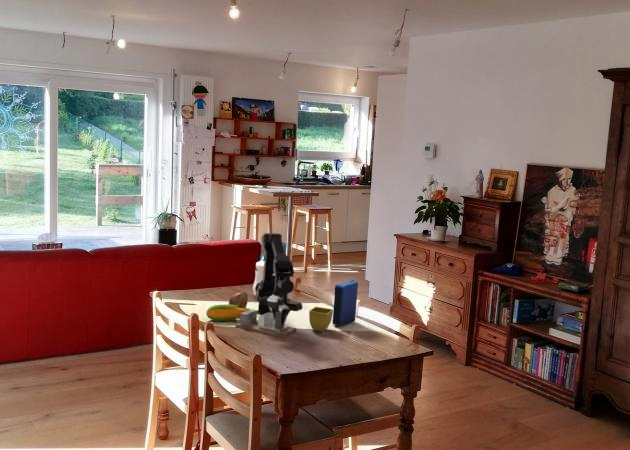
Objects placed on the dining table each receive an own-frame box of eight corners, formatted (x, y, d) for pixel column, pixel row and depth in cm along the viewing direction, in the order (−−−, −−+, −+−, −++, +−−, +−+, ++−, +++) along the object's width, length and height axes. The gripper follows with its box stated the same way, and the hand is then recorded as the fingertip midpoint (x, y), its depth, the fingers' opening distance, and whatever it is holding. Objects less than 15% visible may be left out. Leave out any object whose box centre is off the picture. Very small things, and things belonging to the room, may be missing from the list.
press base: (249, 320, 314) (250, 307, 313) (295, 330, 303) (296, 317, 302) (235, 326, 303) (235, 313, 303) (282, 337, 293) (282, 323, 292)
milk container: (252, 293, 365) (253, 259, 363) (285, 294, 367) (286, 261, 365) (252, 301, 348) (254, 266, 346) (286, 302, 350) (288, 267, 347)
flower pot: (332, 328, 310) (333, 309, 308) (326, 333, 301) (327, 313, 300) (314, 325, 312) (315, 306, 311) (307, 330, 304) (308, 310, 303)
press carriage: (267, 323, 307) (268, 306, 306) (288, 327, 302) (289, 310, 301) (257, 327, 300) (258, 310, 299) (279, 332, 295) (280, 314, 294)
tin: (233, 314, 323) (233, 297, 321) (227, 313, 324) (227, 296, 322) (247, 307, 336) (248, 290, 335) (242, 306, 338) (242, 289, 336)
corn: (205, 302, 313) (248, 301, 319) (204, 318, 314) (247, 316, 320) (207, 307, 306) (251, 306, 312) (207, 323, 307) (251, 322, 313)
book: (347, 319, 325) (350, 278, 322) (357, 322, 322) (360, 280, 319) (330, 325, 313) (333, 283, 311) (340, 328, 310) (343, 285, 308)
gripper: (253, 287, 295) (251, 323, 297) (291, 294, 286) (289, 331, 288) (266, 283, 304) (265, 317, 307) (303, 289, 296) (301, 324, 298)
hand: (279, 322), depth 300 cm, fingers closed on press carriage, 3 cm apart
